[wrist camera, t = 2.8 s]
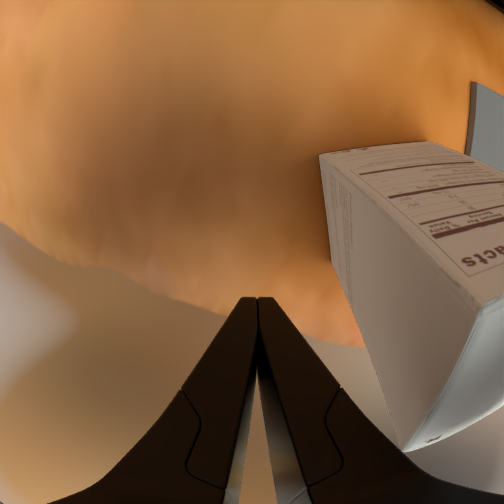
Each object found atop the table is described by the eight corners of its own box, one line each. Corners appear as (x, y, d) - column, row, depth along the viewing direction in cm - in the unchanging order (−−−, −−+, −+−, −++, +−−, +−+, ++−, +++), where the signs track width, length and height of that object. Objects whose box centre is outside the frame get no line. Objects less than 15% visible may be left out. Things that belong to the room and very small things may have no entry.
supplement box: (426, 243, 17) (533, 386, 6) (328, 264, 18) (395, 460, 7) (430, 137, 13) (611, 239, 2) (315, 148, 14) (481, 320, 3)
